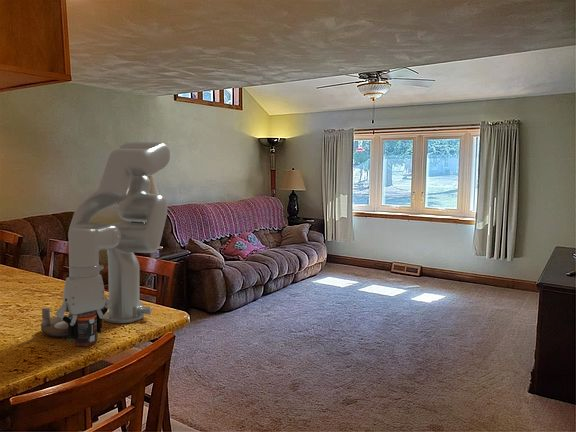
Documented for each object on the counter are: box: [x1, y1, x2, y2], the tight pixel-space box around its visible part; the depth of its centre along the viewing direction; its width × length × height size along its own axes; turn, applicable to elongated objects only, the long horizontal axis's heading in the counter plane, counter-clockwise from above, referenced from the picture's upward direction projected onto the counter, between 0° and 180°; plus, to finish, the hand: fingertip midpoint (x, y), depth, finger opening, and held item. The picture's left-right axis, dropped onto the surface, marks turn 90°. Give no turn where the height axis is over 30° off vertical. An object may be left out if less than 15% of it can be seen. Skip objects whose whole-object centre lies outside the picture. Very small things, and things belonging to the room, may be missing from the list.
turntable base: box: [46, 333, 73, 343], centre depth 131 cm, size 10×13×1 cm
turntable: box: [40, 307, 69, 334], centre depth 132 cm, size 13×13×6 cm
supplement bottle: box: [73, 311, 98, 347], centre depth 124 cm, size 6×6×11 cm
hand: (85, 334), depth 124 cm, fingers closed on supplement bottle, 6 cm apart
